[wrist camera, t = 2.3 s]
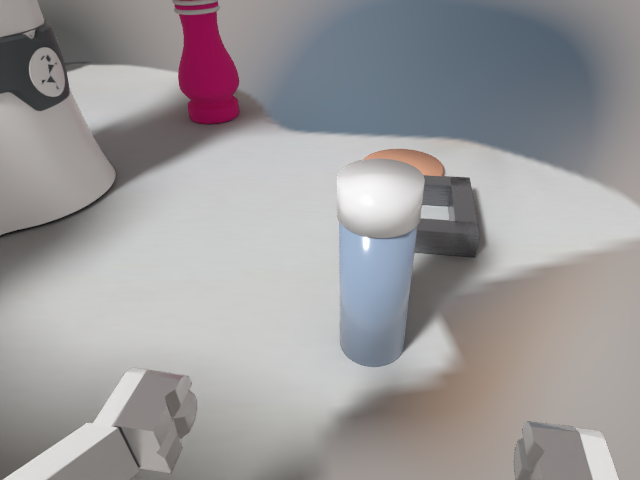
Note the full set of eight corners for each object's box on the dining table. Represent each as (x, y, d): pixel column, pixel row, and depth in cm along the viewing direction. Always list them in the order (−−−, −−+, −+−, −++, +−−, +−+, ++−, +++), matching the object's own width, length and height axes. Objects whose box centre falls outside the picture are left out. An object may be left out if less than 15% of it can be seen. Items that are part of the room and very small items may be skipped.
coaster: (356, 187, 43) (356, 183, 43) (364, 150, 49) (364, 147, 49) (444, 192, 42) (445, 188, 41) (441, 154, 48) (441, 150, 48)
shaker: (333, 363, 26) (330, 196, 20) (343, 314, 30) (342, 156, 23) (404, 372, 26) (424, 202, 19) (406, 320, 29) (424, 160, 23)
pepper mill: (243, 103, 62) (220, -76, 51) (243, 123, 57) (217, -74, 45) (188, 107, 62) (152, -73, 50) (183, 128, 56) (141, -71, 44)
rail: (357, 306, 30) (357, 278, 29) (375, 190, 42) (376, 166, 41) (484, 319, 29) (491, 290, 27) (465, 195, 41) (469, 171, 40)
